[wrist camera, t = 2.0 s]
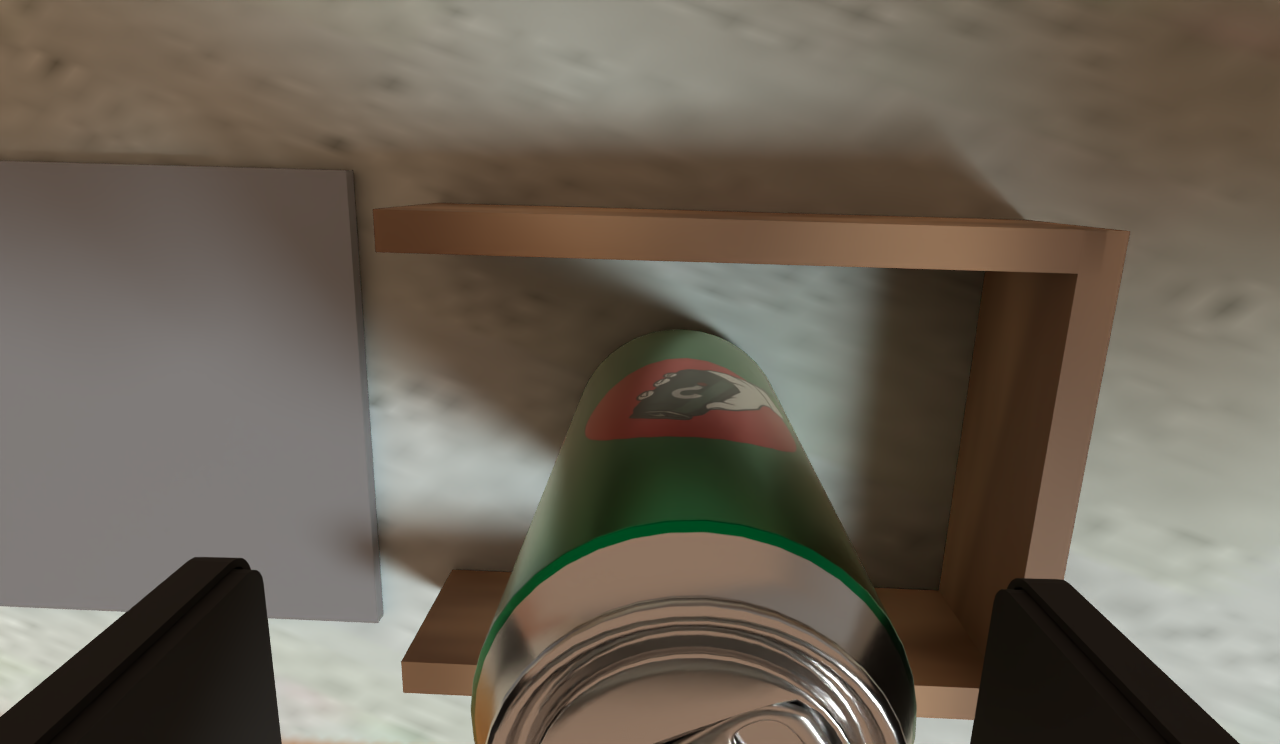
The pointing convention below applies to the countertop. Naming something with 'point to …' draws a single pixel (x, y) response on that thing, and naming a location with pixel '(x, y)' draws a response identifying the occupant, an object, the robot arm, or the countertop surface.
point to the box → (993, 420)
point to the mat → (183, 385)
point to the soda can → (688, 576)
